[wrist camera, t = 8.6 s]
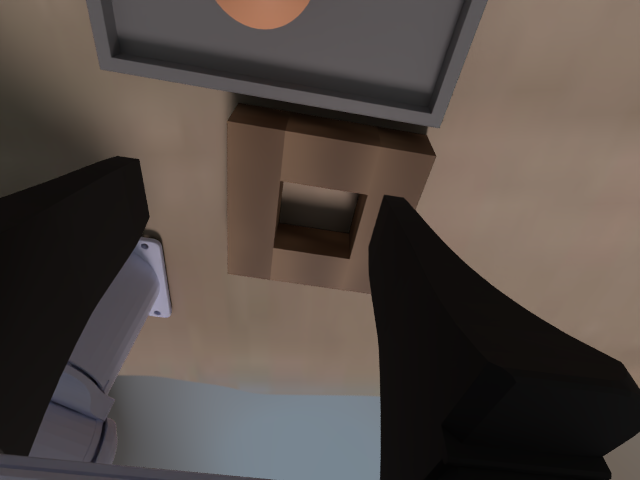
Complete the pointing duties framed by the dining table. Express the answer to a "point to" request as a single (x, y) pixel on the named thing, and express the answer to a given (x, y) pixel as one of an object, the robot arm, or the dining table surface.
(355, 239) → the socket block
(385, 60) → the tray
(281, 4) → the pin
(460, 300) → the robot arm
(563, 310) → the dining table surface
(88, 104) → the dining table surface
